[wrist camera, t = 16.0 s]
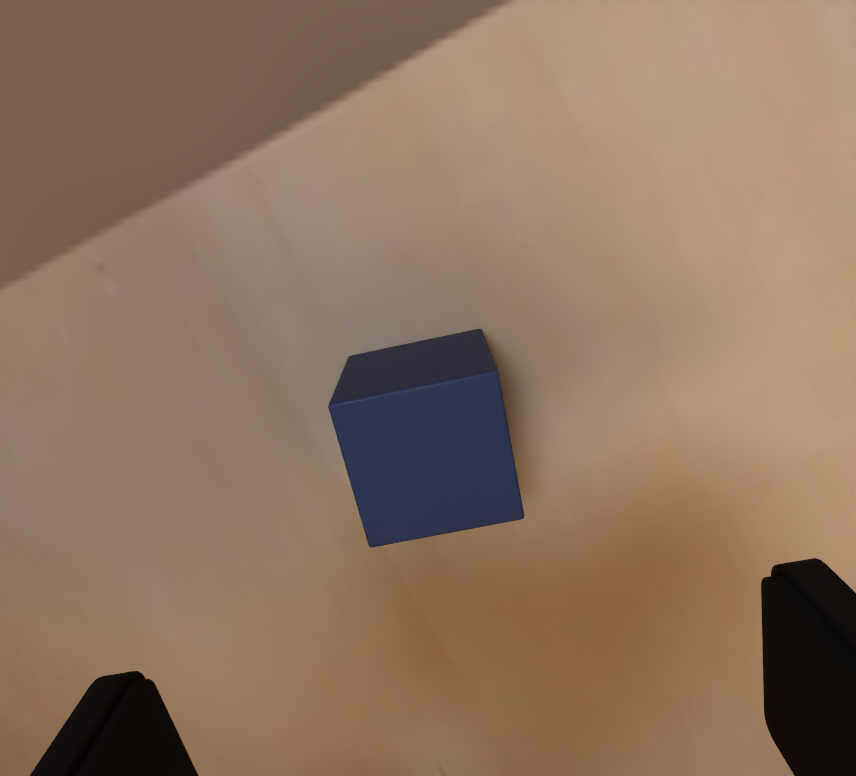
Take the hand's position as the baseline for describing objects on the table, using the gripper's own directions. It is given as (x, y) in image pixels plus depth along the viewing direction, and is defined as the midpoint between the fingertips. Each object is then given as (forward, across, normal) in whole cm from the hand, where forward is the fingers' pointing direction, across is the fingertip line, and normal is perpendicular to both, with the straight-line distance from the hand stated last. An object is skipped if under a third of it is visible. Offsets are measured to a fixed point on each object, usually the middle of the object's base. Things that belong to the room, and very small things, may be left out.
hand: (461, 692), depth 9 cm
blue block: (+12, 0, 0) cm, 12 cm away
